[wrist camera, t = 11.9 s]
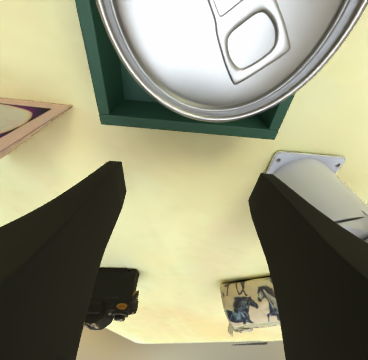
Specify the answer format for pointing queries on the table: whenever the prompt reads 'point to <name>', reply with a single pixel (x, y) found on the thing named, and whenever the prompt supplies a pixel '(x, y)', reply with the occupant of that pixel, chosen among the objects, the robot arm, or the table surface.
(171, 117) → the tote
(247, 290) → the pencil case
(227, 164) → the table surface
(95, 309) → the film camera
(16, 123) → the greeting card
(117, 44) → the can
